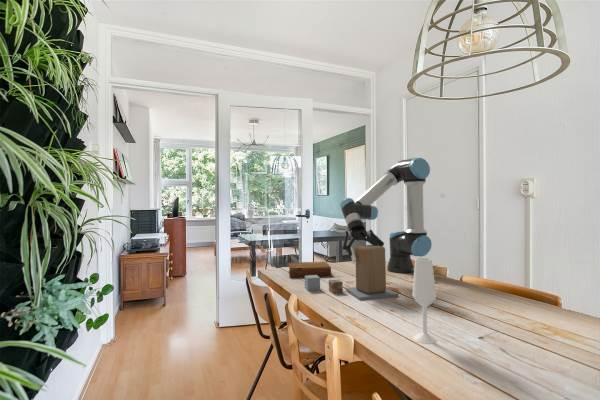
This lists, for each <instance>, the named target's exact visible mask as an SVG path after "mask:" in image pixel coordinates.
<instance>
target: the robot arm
mask: <svg viewBox="0 0 600 400" xmlns="http://www.w3.org/2000/svg"><path fill="white" fill-rule="evenodd" d="M430 172H431V167H430V164H429V162H428V161H427V160H426V159H425V158H422V157H412V158H409V159H402V160H400V161H397V162H396V163H395V164H393V165H391V166H390V168H389V169H387V170H386V171H385V172H383V176H381V178H379V179H378V180H377V181H376V182H375V183H374V184H373V185H371V187H369V188H368V189H367V190H366V191H365V192H364V193H363V194H362V195H360V197H358V198H357V199H356V200H354V198H351V197H346V198H344V199H342V201H341V202H340V204H339V205H340V210H341V212H342V215H343V217H344V220H345V223H346V226H347V228H348V230H345V233H344V241H343V244H342V248H341V249H342V250H343V251H344V250H345V251H346V253H347V254H348V256H349V257H351V258H350V259H351V261H352V263H353V264H354V263H355V264H356V256H355V251H354V248H353V247H352V246H353V244H354V243H355V241H365V242H367V243H369V245H376V246H382V247H384V245H385V242H383V241H382V239H380V238H379V237H378V236H377V234H375V233H374V232H373V230H372V229H369V230H366V228H365V225H364V222H363V220H368V221H373V220H376V219H377V218H378V214H379V209H378V207H377V206H375V205H372V204H374V202H375V203H376V201H377V200H378V199H379V198H380V197H381V196H383V195H384V194H385V193H386V192H388V190H390V188H391V187H393V186H397V184H399V183H400V182H403V184H404V185H405V186H406V214H407V215H406V218H407V223H406V225H407V227H406V230H405V231H392V232H390V233H389V238H388V239H389V260H388V263H387V265H386V268H387V269H386V270H387V271H389V272H390V273H391V272H392V273H397V274H398V273H401V274H402V273H403V274H405V273H406V274H407V273H412V272H413V273H414V271H413V270H414V267H415V266H414V264H413V261H412V257H411V256H413V257H414V256H415V257H419V258H423V257H425V256H427V255H428V254H429V253H430V251H431V250H432V245H433V244H432V243H433V242H432V240H431V239H430V237H429V236H428V235H427V234H428V233H427V230H426V229H425V227H424V226H425V225H424V224H425V223H424V222H425V221H424V220H425V219H424V185H425V184H426V179H427V178H428V177H429V175H430ZM350 236H351V240H350V242H349V243H348V239H349V237H350ZM347 244H348V245H347ZM413 266H414V267H413Z"/></svg>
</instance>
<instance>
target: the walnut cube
mask: <svg viewBox="0 0 600 400" xmlns="http://www.w3.org/2000/svg"><path fill="white" fill-rule="evenodd" d="M343 288H344V287H343V281H342V280H340V279H329V280H328V291H329V292H330V293H331V294H342V293H343Z"/></svg>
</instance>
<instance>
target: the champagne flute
mask: <svg viewBox="0 0 600 400" xmlns="http://www.w3.org/2000/svg"><path fill="white" fill-rule="evenodd" d="M433 265H434V264H433V259H432V258H429V257H416V258H414V267H415V268H414V271H413V278H414V279H413V280H412V297H413V299H414V300H415V302H416V303H417V304H418V305H420V307H422V332H421V333H418V334H416V335H414V336H413V340H415V341H416V342H418V343H420V344H426V345H427V344H435V343H437V342H438V339H437V338H436V337H434V336H433V335H431V334H430V333H429V332H428V318H427V317H428V316H427V315H428V312H427V310H428V309H427V307H429V306H431V305H430V304H432V303H434V302H435V301H436V300H437V299H436V298H437V292H436V284H435V283H436V281H435V278H434V276H435V275H434V272H433V271H434V269H433V267H434V266H433ZM432 305H433V304H432Z"/></svg>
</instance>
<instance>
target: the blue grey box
mask: <svg viewBox="0 0 600 400" xmlns="http://www.w3.org/2000/svg"><path fill="white" fill-rule="evenodd" d="M304 289H305V290H306V291H308V292H312V291H313V292H314V291H320V290H321V277H319V276H317V275H308V276H305V277H304Z"/></svg>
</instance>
